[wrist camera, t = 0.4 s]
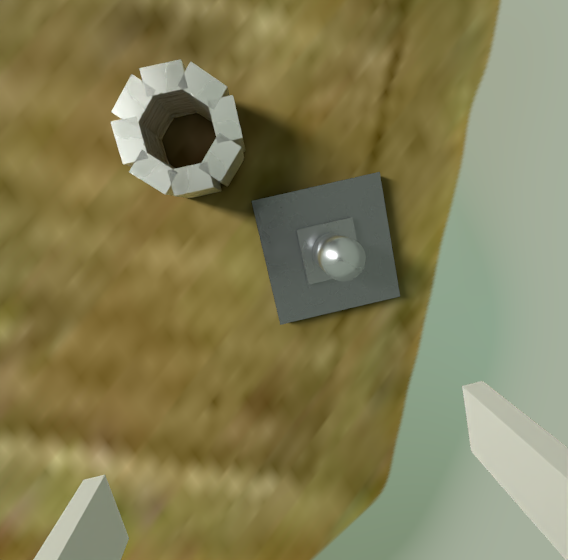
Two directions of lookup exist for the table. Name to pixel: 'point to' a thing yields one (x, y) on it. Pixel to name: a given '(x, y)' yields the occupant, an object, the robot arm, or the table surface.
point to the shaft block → (327, 247)
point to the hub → (157, 118)
